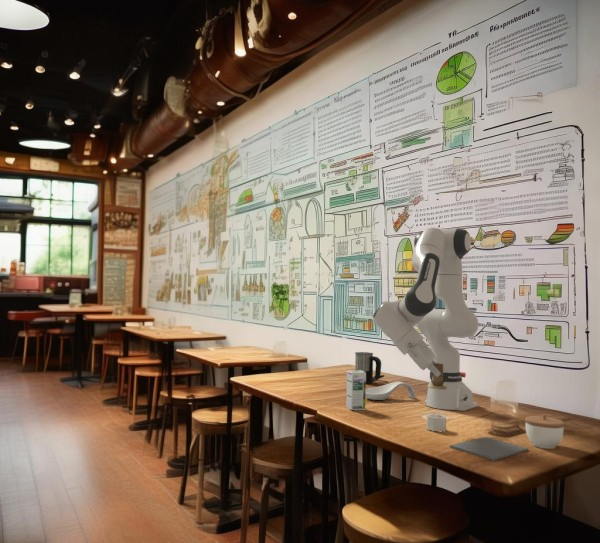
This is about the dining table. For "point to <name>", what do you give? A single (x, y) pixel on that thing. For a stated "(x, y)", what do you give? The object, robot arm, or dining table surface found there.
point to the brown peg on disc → (438, 379)
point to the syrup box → (356, 390)
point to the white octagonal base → (436, 422)
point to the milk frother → (368, 365)
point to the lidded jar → (544, 431)
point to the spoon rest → (387, 391)
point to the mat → (489, 448)
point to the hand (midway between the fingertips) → (439, 374)
